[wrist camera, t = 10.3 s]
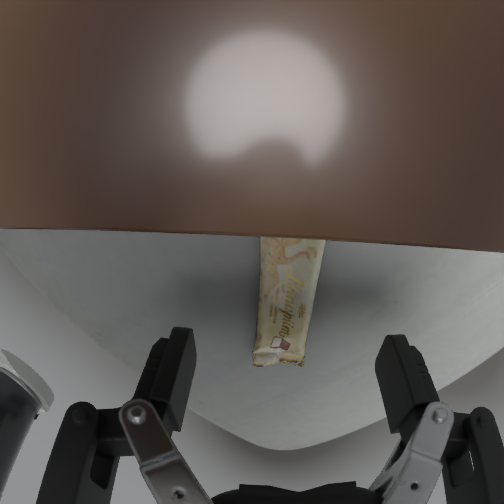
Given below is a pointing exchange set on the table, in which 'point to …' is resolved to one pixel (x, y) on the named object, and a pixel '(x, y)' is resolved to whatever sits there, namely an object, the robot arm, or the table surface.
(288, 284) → the snack bar
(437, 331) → the table surface
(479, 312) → the table surface
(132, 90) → the cabinet
